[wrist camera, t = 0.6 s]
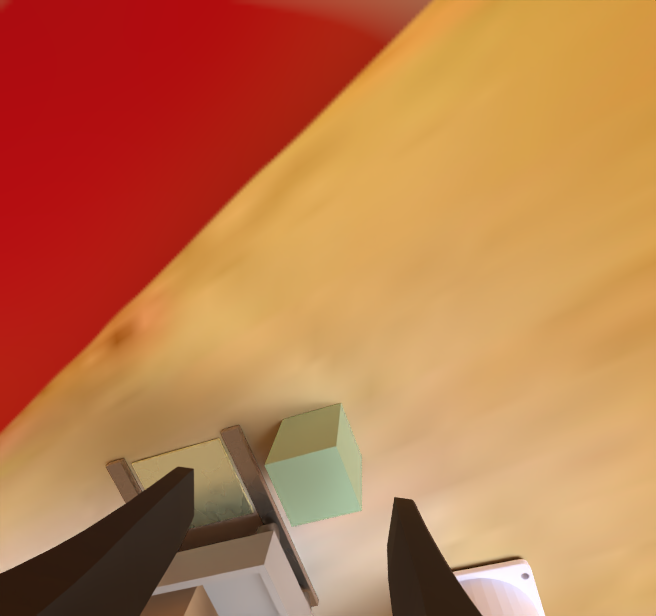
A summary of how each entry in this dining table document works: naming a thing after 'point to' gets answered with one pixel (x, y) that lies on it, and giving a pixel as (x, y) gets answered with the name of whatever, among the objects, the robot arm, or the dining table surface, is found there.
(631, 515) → the dining table surface
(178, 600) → the copper block
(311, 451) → the green block
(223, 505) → the rails
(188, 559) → the grey shallow tray
